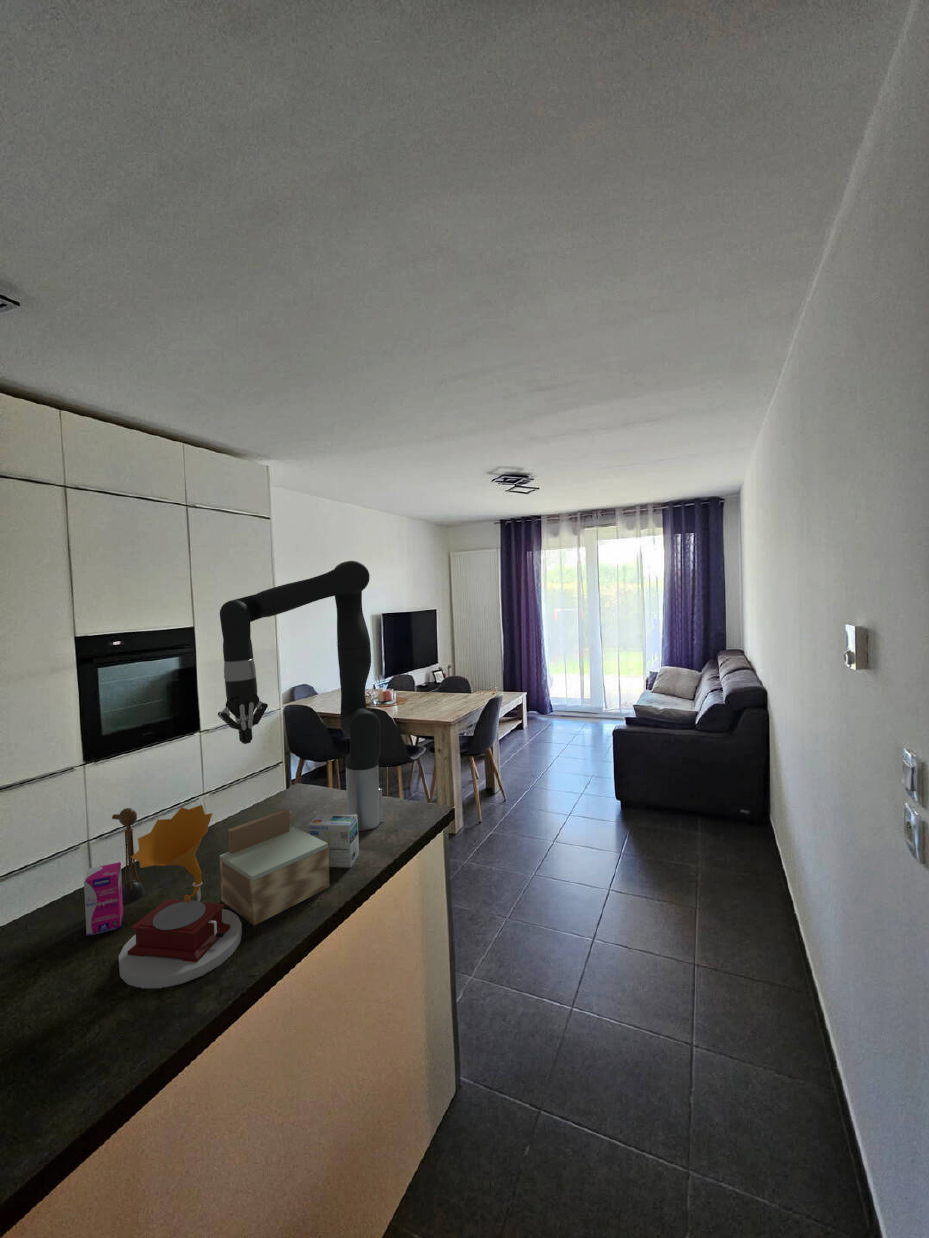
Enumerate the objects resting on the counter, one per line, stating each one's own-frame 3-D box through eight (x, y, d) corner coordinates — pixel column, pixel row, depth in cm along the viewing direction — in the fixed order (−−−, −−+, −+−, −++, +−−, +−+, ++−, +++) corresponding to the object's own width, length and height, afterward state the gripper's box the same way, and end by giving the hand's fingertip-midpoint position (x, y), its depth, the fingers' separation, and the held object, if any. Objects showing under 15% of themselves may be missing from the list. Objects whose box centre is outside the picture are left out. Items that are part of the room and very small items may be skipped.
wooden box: (295, 867, 130) (293, 831, 130) (329, 886, 121) (328, 847, 121) (221, 900, 117) (219, 860, 116) (254, 925, 108) (252, 881, 107)
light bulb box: (359, 854, 136) (358, 813, 135) (351, 868, 129) (350, 824, 129) (319, 853, 137) (317, 812, 136) (308, 867, 130) (307, 823, 130)
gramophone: (173, 912, 113) (167, 796, 112) (262, 920, 109) (257, 800, 108) (89, 982, 93) (81, 841, 91) (196, 995, 89) (189, 848, 88)
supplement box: (85, 938, 105) (82, 881, 104) (90, 922, 110) (87, 867, 109) (121, 929, 107) (117, 873, 107) (124, 913, 113) (121, 860, 112)
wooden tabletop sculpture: (110, 901, 117) (105, 811, 116) (126, 889, 122) (122, 803, 121) (133, 903, 116) (129, 812, 115) (149, 891, 121) (145, 804, 120)
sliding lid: (293, 830, 130) (292, 806, 130) (328, 847, 121) (327, 821, 120) (219, 859, 116) (218, 832, 116) (252, 881, 107) (251, 852, 107)
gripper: (221, 682, 131) (227, 752, 132) (271, 673, 141) (277, 738, 142) (208, 680, 136) (214, 747, 137) (257, 672, 146) (263, 734, 147)
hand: (246, 742), depth 140 cm, fingers closed
